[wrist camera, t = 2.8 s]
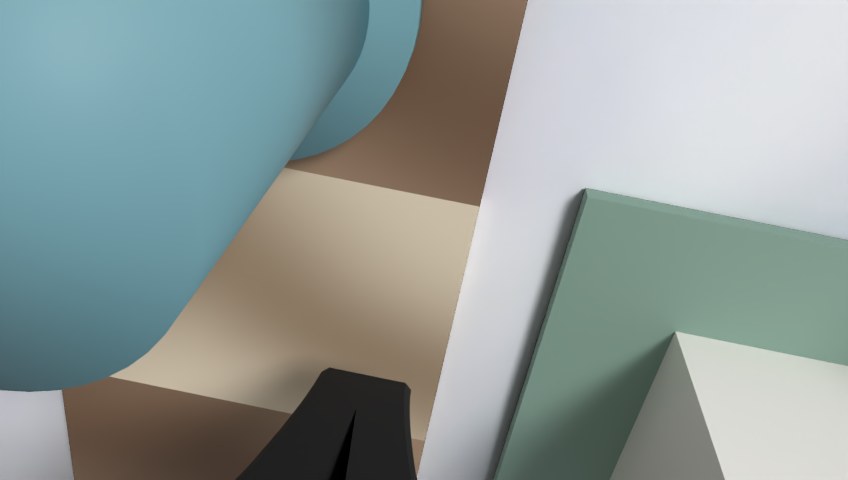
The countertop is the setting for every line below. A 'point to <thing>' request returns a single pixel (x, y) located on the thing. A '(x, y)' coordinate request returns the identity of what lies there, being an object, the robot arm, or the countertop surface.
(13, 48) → the pawn
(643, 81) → the countertop surface
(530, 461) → the felt pad
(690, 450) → the die
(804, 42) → the countertop surface
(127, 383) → the track
